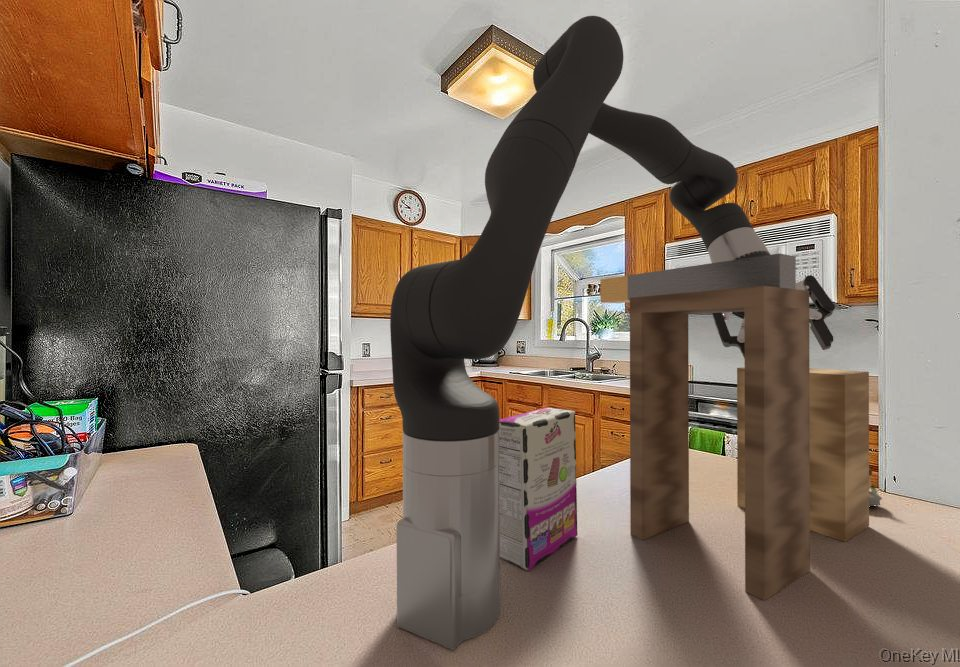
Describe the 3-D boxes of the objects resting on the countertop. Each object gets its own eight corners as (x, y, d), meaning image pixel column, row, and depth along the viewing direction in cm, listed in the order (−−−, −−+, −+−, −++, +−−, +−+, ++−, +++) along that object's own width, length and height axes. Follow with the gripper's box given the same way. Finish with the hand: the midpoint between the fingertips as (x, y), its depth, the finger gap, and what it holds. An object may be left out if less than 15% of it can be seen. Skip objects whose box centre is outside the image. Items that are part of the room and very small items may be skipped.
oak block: (869, 526, 57) (868, 371, 57) (845, 542, 53) (844, 375, 53) (763, 495, 68) (763, 365, 68) (737, 505, 64) (737, 367, 64)
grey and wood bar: (795, 289, 45) (795, 256, 45) (779, 287, 43) (779, 253, 43) (616, 303, 65) (616, 280, 65) (600, 302, 63) (600, 279, 63)
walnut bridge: (764, 600, 41) (763, 285, 41) (630, 534, 55) (629, 297, 55) (809, 570, 47) (809, 290, 46) (677, 516, 60) (676, 300, 60)
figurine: (860, 511, 61) (864, 470, 62) (831, 500, 66) (835, 462, 66) (891, 514, 62) (895, 473, 62) (861, 503, 66) (864, 465, 67)
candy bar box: (546, 525, 58) (545, 406, 58) (578, 536, 54) (578, 410, 54) (493, 557, 50) (492, 418, 50) (527, 573, 46) (526, 424, 46)
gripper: (693, 272, 66) (736, 367, 59) (797, 232, 60) (859, 332, 53) (696, 290, 72) (736, 379, 65) (791, 256, 66) (846, 348, 59)
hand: (792, 357), depth 59 cm, fingers open, 8 cm apart
